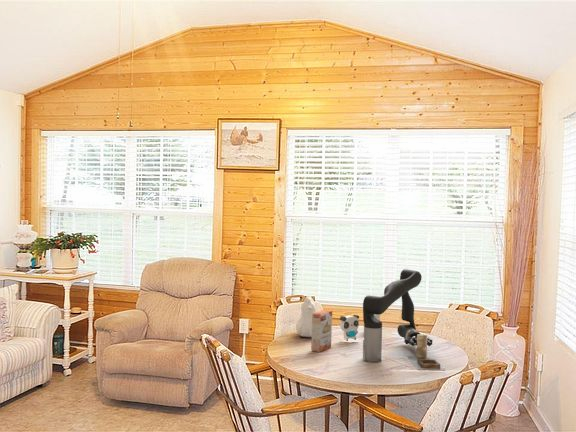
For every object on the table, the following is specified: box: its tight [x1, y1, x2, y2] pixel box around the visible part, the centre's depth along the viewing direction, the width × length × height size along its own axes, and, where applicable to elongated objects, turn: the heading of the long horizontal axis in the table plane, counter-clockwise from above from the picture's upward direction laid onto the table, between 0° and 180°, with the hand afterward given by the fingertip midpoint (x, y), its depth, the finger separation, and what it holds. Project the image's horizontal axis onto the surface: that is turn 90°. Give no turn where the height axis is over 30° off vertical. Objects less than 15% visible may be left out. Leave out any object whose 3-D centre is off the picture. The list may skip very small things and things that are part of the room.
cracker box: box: [310, 309, 333, 353], centre depth 299 cm, size 14×6×21 cm, turn 149°
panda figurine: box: [339, 314, 360, 341], centre depth 319 cm, size 12×11×15 cm
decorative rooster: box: [295, 296, 317, 338], centre depth 332 cm, size 25×16×25 cm, turn 170°
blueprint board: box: [406, 355, 446, 371], centre depth 273 cm, size 14×22×1 cm, turn 1°
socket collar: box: [417, 358, 441, 370], centre depth 267 cm, size 9×9×2 cm
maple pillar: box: [416, 333, 428, 359], centre depth 281 cm, size 5×5×12 cm
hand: (421, 344), depth 281 cm, fingers open, 8 cm apart
